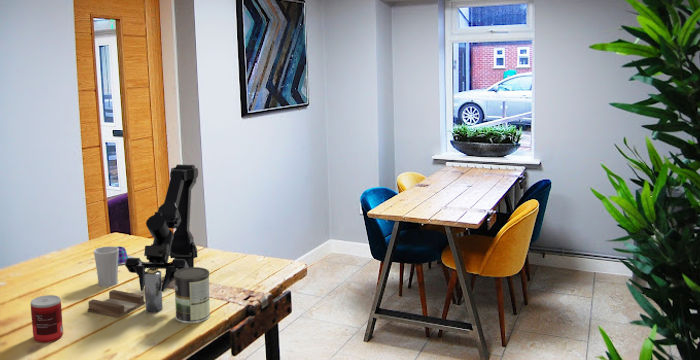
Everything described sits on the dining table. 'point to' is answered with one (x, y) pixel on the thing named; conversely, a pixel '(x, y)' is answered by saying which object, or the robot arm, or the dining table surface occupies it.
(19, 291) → the dining table surface
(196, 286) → the coffee can
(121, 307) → the cradle
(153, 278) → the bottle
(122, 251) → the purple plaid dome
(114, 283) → the cup
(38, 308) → the canned food
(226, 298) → the dining table surface
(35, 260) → the dining table surface
